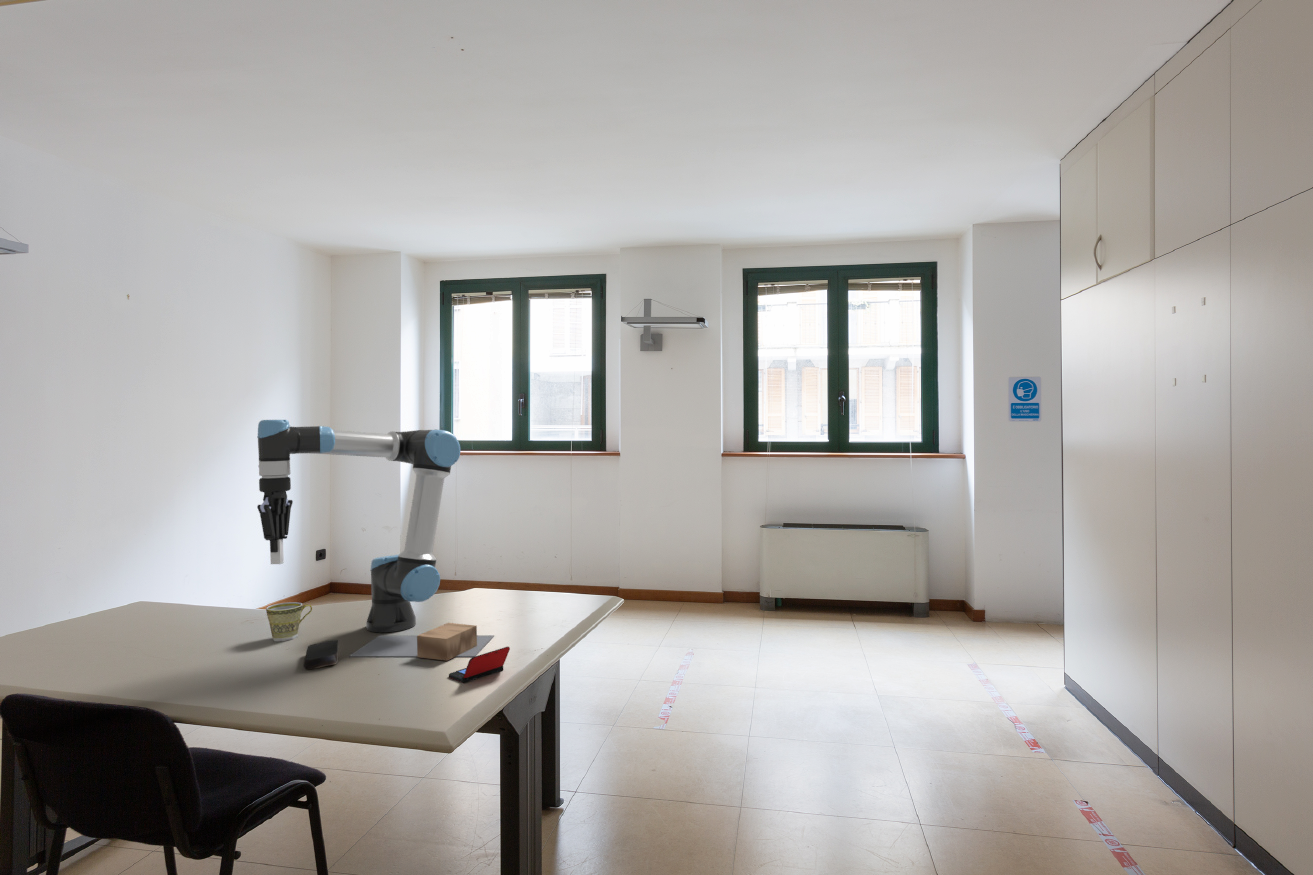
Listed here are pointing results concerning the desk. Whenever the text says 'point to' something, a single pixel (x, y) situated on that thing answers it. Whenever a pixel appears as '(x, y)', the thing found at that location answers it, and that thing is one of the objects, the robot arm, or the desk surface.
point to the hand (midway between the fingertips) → (277, 563)
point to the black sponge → (321, 654)
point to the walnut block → (446, 641)
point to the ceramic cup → (285, 620)
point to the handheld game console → (482, 666)
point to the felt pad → (407, 646)
